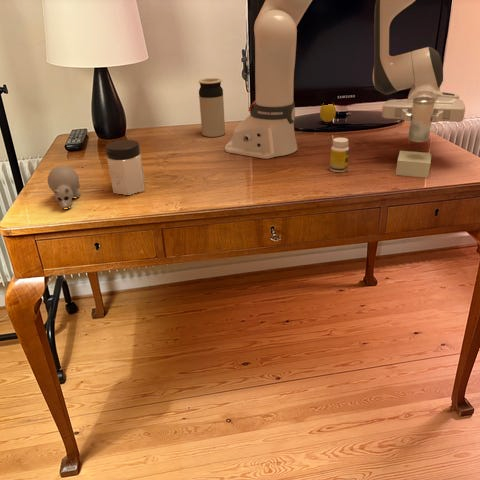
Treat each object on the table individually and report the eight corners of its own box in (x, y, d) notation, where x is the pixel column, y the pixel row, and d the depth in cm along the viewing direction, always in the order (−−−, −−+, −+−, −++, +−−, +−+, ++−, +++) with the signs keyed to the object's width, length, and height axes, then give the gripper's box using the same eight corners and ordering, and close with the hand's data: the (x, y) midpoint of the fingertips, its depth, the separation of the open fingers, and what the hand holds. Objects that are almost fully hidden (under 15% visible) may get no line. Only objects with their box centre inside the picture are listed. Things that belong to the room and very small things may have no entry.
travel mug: (228, 135, 157) (225, 80, 148) (206, 138, 155) (201, 83, 146) (220, 129, 164) (217, 76, 155) (199, 132, 161) (195, 79, 152)
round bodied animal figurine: (52, 221, 111) (41, 196, 105) (54, 186, 118) (44, 161, 112) (83, 216, 112) (74, 192, 106) (83, 182, 119) (74, 157, 113)
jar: (105, 193, 118) (96, 148, 112) (123, 181, 124) (116, 138, 118) (135, 197, 115) (128, 151, 109) (152, 185, 121) (146, 141, 115)
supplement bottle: (347, 173, 124) (349, 142, 120) (329, 172, 125) (331, 142, 120) (347, 166, 128) (349, 137, 124) (330, 166, 129) (331, 136, 125)
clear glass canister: (407, 141, 118) (412, 101, 113) (408, 135, 122) (413, 96, 117) (428, 142, 116) (435, 102, 111) (429, 136, 120) (435, 97, 115)
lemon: (317, 121, 168) (318, 99, 164) (332, 120, 168) (334, 98, 164) (321, 125, 163) (322, 103, 159) (337, 124, 163) (338, 102, 159)
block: (395, 174, 121) (397, 160, 119) (397, 164, 128) (399, 150, 126) (427, 177, 119) (430, 163, 117) (428, 167, 125) (431, 153, 123)
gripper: (385, 92, 128) (379, 104, 117) (465, 94, 122) (467, 107, 111) (382, 114, 132) (377, 128, 120) (460, 118, 125) (462, 133, 114)
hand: (421, 118), depth 115 cm, fingers closed on clear glass canister, 5 cm apart
